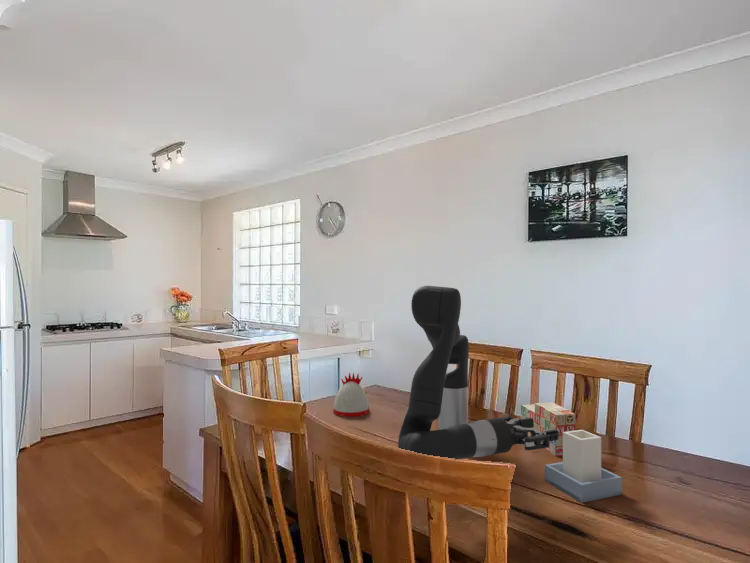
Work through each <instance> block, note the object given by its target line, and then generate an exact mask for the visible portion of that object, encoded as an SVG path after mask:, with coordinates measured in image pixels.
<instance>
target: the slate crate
mask: <svg viewBox="0 0 750 563" xmlns="http://www.w3.org/2000/svg"><path fill="white" fill-rule="evenodd" d="M622 479H623V478H622V477H621V476H619V475H618V474H615V473H613V472H611V471H609V470H607V469H605V468H604V467H601V479H600V480H595V481H590V482H585V483H581V482H579V481H577V480H575V479H573V478H571V477H570V476H568V475H566V474H564V473H563V461H561V462H554V463H549V464H544V482H546V483H548V484H550V485H551V486H553V487H555V488H556V489H557V490H560V491H561V492H563V493H564V494H566V495H568V496H570V497H571V498H573V499H575V500H576V501H577V502H579V503H586V502H591V501H597V500H602V499H605V498H606V499H607V498H611V497H616V496H621V495H623V491H622V486H623V485H622V484H623V482H622V481H623V480H622Z"/></svg>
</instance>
